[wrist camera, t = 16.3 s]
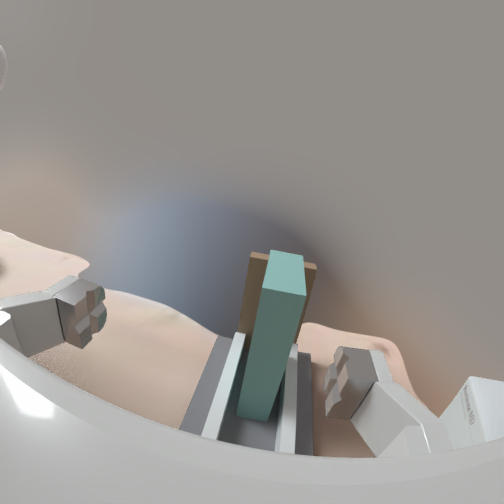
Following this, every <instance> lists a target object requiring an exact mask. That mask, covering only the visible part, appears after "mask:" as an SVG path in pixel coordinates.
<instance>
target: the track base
mask: <svg viewBox="0 0 504 504" xmlns="http://www.w3.org/2000/svg"><path fill="white" fill-rule="evenodd" d="M269 256H270V255H266V254H261V253H256V252H252V253H251V256H250V260H249V266H248V272H247V278H246V284H245V290H244V297H243V302H242V308H241V314H240V320H239V326H238V332H236V333H235V336H234V339H230V338H226V337H221V336H218V337H217V339H216V342H215V344H214V347H213V349H212V351H211V354H210V356H209V359H208V361H207V364H206V366H205V368H204V371H203V373H202V376H201V378H200V380H199V383H198V385H197V388H196V390H195V392H194V395H193V397H192V400H191V402H190V405H189V407H188V409H187V412H186V414H185V417H184V419H183V421H182V424H181V426H180V429H179V430H182V431H185V432H189V433H192V434H196V435H199V436H203V437H207V438H210V439H214V440H218V441H223V442H227V443H231V444H236V445H241V446H246V447H251V448H256V449H262V450H268V451H275V452H282V453H290V454H299V455H309V456H313V404H312V376H311V355H310V354H309V353H303V352H298V344H296V342H297V338H298V335H299V332H300V328H301V325H302V322H303V318H304V315H305V311H306V308H307V304H308V301H309V297H310V294H311V290H312V286H313V282H314V279H315V275H316V270H317V268H316V264H312V263H306V262H304V273H305V284H306V300H305V303H304V307H303V311H302V314H301V318H300V321H299V325H298V328H297V331H296V335H295V338H294V341H293V345H292V348H291V351H290V355H289V358H288V361H287V364H286V367H285V370H284V373H283V377H282V380H281V383H280V386H279V389H278V392H277V395H276V397H275V400H274V403H273V406H272V409H271V412H270V415H269V417H268V420H267V422H266V421H260V420H254V419H249V418H244V417H239V416H236V412H237V407H238V402H239V398H240V393H241V388H242V384H243V379H244V374H245V369H246V365H247V360H248V355H249V350H250V345H251V340H252V335H253V330H254V325H255V321H256V316H257V310H258V305H259V300H260V295H261V290H262V286H263V281H264V277H265V273H266V269H267V264H268V260H269Z"/></svg>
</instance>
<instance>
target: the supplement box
mask: <svg viewBox="0 0 504 504" xmlns="http://www.w3.org/2000/svg"><path fill="white" fill-rule="evenodd" d="M439 419H440V420H441V421H442V422H443V423H444V424H445V427H446V430H447V432H448V435H449V438H450V440H451V443H452V446H453V449H460V448H465V447H469V446H474V445H478V444H482V443H486V442H490V441H493V440H497V439H500V438H504V382H502V381H496V380H490V379H484V378H480V377H473V376H470V377H469V378H468V379H467V381H466V383H465V384H464V385H463V387H462V388H461V390H460V391H459V393H458V394H457V395H456V397H455V398H454V400H453V401H452V402H451V403H450V405H449V406H448V407H447V409H446V410H445V411H444V412H443V414H442V415H441V416H440V417H439Z"/></svg>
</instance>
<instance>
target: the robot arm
mask: <svg viewBox="0 0 504 504" xmlns="http://www.w3.org/2000/svg"><path fill="white" fill-rule="evenodd" d="M6 74H7V57H6V54H5V51H4V49H3V48H2V46H1V45H0V91H1V89H2V87H3V85H4V82H5V79H6ZM104 299H105V291H104V289H103V288H102V287H101V286H98V285H96V284H93V283H91V282H88V281H85V280H83V279H80V278H78V277H75V276H70V275H69V276H67V277H65V278H64V279H62V280H61V281H59V282H58V283H56V284H55V285H53V286H52V287H50V288H49V289H47V290H46V291H44V292H41V291H39V292H33V293H28V294H22V295H17V296H11V297H6V298H1V299H0V504H504V438H500V439H497V440H493V441H490V442H486V443H482V444H478V445H474V446H469V447H465V448H460V449H453V446H452V443H451V440H450V438H449V435H448V432H447V430H446V427H445V424H444V423H443V422H442V421H441V420H440V419H439V418H438V417H436V416H435V415H434V414H433V413H432V412H431V411H429V410H428V409H427V408H426V407H425V406H424V405H422V404H421V403H420V402H419V401H418V400H417V399H415V398H414V397H413V396H412V395H411V394H410V393H408V392H407V391H406V390H405V389H404V388H403V387H401V386H400V385H399V384H398V383H394V382H393V379H392V376H391V373H390V370H389V368H388V365H387V362H386V360H385V357H384V354H383V352H381V351H377V350H364V349H357V348H349V347H342V346H339V347H338V348H337V350H336V352H335V354H334V360H335V362H334V363H332V364H331V365H329V367H328V370H327V372H326V375H325V380H324V392H325V393H326V395H327V396H328V397H327V399H326V401H325V410H326V417H330V418H339V419H349V420H350V421H351V423H352V424H353V426H354V427H355V428H356V430H357V431H358V433H359V434H360V435H361V437H362V438H363V440H364V441H365V442H366V444H367V445H368V446H369V448H370V449H371V451H372V452H373V453H374V455H375V456H376V457H377V458H341V457H322V456H309V455H299V454H290V453H282V452H275V451H268V450H262V449H256V448H251V447H246V446H241V445H236V444H231V443H227V442H223V441H218V440H214V439H210V438H207V437H203V436H199V435H196V434H192V433H189V432H185V431H182V430H179V429H176V428H173V427H170V426H167V425H164V424H161V423H158V422H155V421H152V420H150V419H147V418H144V417H142V416H139V415H137V414H134V413H132V412H129V411H127V410H124V409H122V408H120V407H117V406H115V405H113V404H111V403H109V402H106V401H104V400H102V399H100V398H98V397H96V396H94V395H92V394H90V393H88V392H86V391H84V390H82V389H80V388H78V387H76V386H74V385H72V384H71V383H69V382H67V381H65V380H63V379H62V378H60V377H58V376H56V375H55V374H53V373H51V372H50V371H48V370H46V369H45V368H43V367H42V366H40V365H38V364H37V363H35V362H34V361H32V360H31V359H29V358H28V357H30V356H32V355H35V354H37V353H40V352H42V351H45V350H47V349H50V348H52V347H54V346H57V345H59V344H62V343H64V341H65V342H67V343H69V344H72V345H74V346H76V347H78V348H81V349H83V348H84V347H85V346H86V345H87V344H88V343H89V342H90V341H91V340H92V334H94V333H97V332H99V331H100V330H101V329H102V328H103V326H104V324H105V322H106V316H107V312H106V307H105V306H104V304H103V301H104Z"/></svg>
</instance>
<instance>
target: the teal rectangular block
mask: <svg viewBox="0 0 504 504" xmlns="http://www.w3.org/2000/svg"><path fill="white" fill-rule="evenodd" d="M305 300H306V284H305V273H304V262H303V256H301V255H296V254H291V253H285V252H280V251H275V250H271V251H270V256H269V260H268V264H267V269H266V273H265V277H264V281H263V286H262V290H261V295H260V300H259V305H258V310H257V316H256V321H255V325H254V330H253V335H252V340H251V345H250V350H249V355H248V360H247V365H246V369H245V374H244V379H243V384H242V388H241V393H240V398H239V402H238V407H237V412H236V416H239V417H244V418H249V419H254V420H260V421H266V422H267V420H268V417H269V415H270V412H271V409H272V406H273V403H274V400H275V397H276V395H277V392H278V389H279V386H280V383H281V380H282V377H283V373H284V370H285V367H286V364H287V361H288V358H289V355H290V351H291V348H292V345H293V341H294V338H295V335H296V331H297V328H298V325H299V321H300V318H301V314H302V311H303V307H304V303H305Z"/></svg>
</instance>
